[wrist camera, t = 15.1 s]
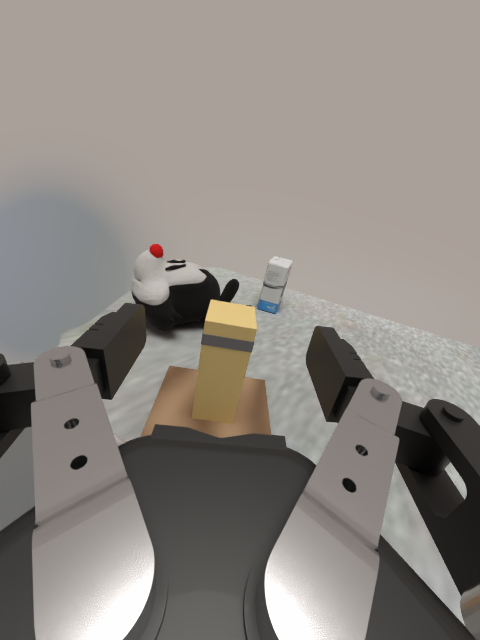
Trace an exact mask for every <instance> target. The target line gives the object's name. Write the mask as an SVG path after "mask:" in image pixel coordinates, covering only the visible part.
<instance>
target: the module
mask: <svg viewBox="0 0 480 640" xmlns="http://www.w3.org/2000/svg"><path fill="white" fill-rule="evenodd" d="M256 331H257V326H256V316H255V307H251V306H245V305H240V304H234V303H228V302H223V301H217V300H211V301H210V305H209V308H208V312H207V315H206V319H205V324H204V330H203V334H202V342H201V344H202V346H201V353H200V360H199V367H198V375H197V382H196V389H195V396H194V403H193V411H192V419H199V420H207V421H214V422H221V423H229V424H233V420H234V417H235V413H236V409H237V405H238V401H239V397H240V393H241V389H242V385H243V381H244V377H245V374H246V370H247V366H248V362H249V358H250V354H251V352H252V349H253V345H254V338H255V334H256Z"/></svg>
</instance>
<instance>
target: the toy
mask: <svg viewBox="0 0 480 640" xmlns="http://www.w3.org/2000/svg"><path fill="white" fill-rule="evenodd" d="M162 256H163V249H162V247H161V246H160V245H159V244H153V245H152V246H151V247H150V250H147V251H145V252H143V253H142V254H141V255H140V256H139V257H138V258H137V260H136V261H135V264H134V277H133V280H132V284H131V291H132V295H133V298H134V300H135V303H136V304H139V305H143V306H144V308H145V316H146V318H148V319H149V320H150V321H151V322H152V323H153V324H154V325H155V326H156V327H158V328H159V329H163V330H168V329H170V328H171V327H173V326H174V325H177V324H186V323H190V322H194V321H198V320H200V322H202V323H203V324H205V319H206V315H207V312H208V308H209V305H210V301H211V300H217V301H223V302H228V303H230V302H231V300H232V299H233V297H234V296H235V294H236V292H237V290H238V288H239V282H238V280H236V279H232V280H230V281H229V282H228V283H227V285H226V286H225V288H224V290H223V292H222V294H221V296H220V287H219V284H218V282H217V280H216V279H215V277H214V276H213V275H212V274H211V273H209V272H208V271H207V270H204V269H202V268H201V267H200V266H199V265H197V264H194V263H191V262H186V261H185V260H181V259H179V260H171V261H168V262H165V261H164V259H163V257H162ZM246 306H251V305H246ZM251 307H252V306H251Z"/></svg>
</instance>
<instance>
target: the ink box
mask: <svg viewBox="0 0 480 640" xmlns="http://www.w3.org/2000/svg"><path fill="white" fill-rule="evenodd" d="M292 263H293V261H291V260H288V259H284V258H280V257H277V256H275V257H273V258H272V259H271V260H270V261H269V263H268V267H267V271H266V275H265V279H264V283H263V287H262V291H261V295H260V299H259V303H258V307H257V308H258V309H261V310H264V311H267V312H271V313H274V314H276V312H277V310H278V307H279V305H280V303H281V300H282V296H283V293H284V290H285V286H286V283H287V280H288V276H289V272H290V269H291V266H292Z"/></svg>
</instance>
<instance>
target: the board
mask: <svg viewBox="0 0 480 640" xmlns="http://www.w3.org/2000/svg"><path fill="white" fill-rule="evenodd" d="M197 375H198V370H194V369H188V368H181V367H174V366H169V368H168V371H167V373H166V376H165V378H164V381H163V383H162V385H161V388H160V390H159V393H158V395H157V398H156V400H155V403H154V405H153V408H152V410H151V413H150V415H149V417H148V420H147V422H146V425H145V427H144V430H143V432H142V435H141V437H143V436H147V435H151V434H152V431H153V428H154V426H155V424H159V425H170V426H181V427H189V428H192V429H195V430H197V431H200V432H203V433H206V434H209V435H212V436H215V437H219V438H225V437H231V436H238V435H245V434H252V433H256V434H266V435H271V429H270V421H269V412H268V404H267V395H266V387H265V380H260V379H254V378H247V377H244V381H243V385H242V389H241V393H240V397H239V401H238V405H237V409H236V413H235V417H234V420H233V424H229V423H221V422H214V421H207V420H199V419H192V411H193V403H194V396H195V389H196V382H197Z"/></svg>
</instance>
